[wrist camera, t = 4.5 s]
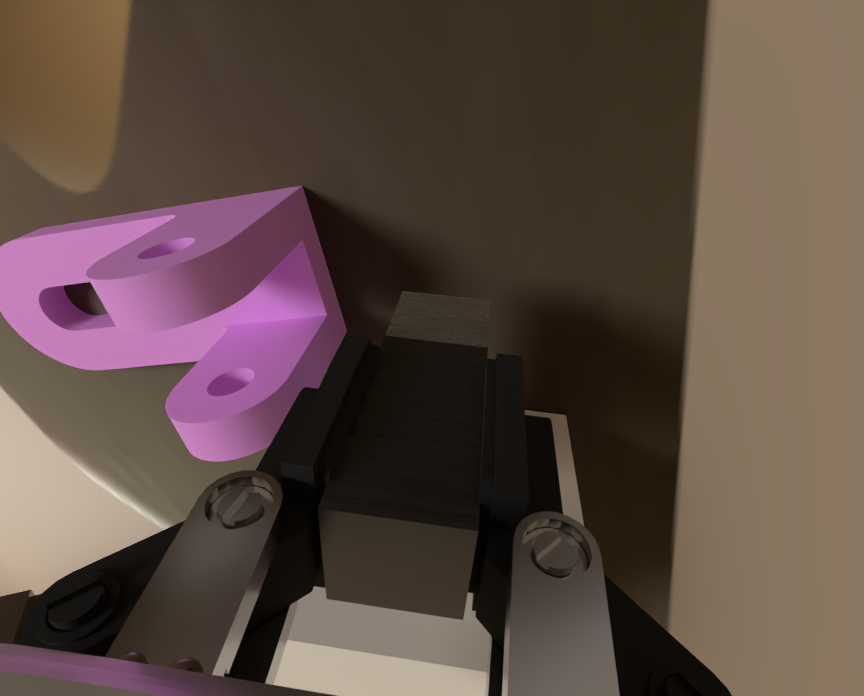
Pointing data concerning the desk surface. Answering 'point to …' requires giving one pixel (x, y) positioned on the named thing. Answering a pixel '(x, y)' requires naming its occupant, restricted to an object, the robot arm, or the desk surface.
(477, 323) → the grey upright plate
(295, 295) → the bracket
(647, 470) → the desk surface
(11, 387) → the desk surface
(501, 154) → the desk surface
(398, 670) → the block
